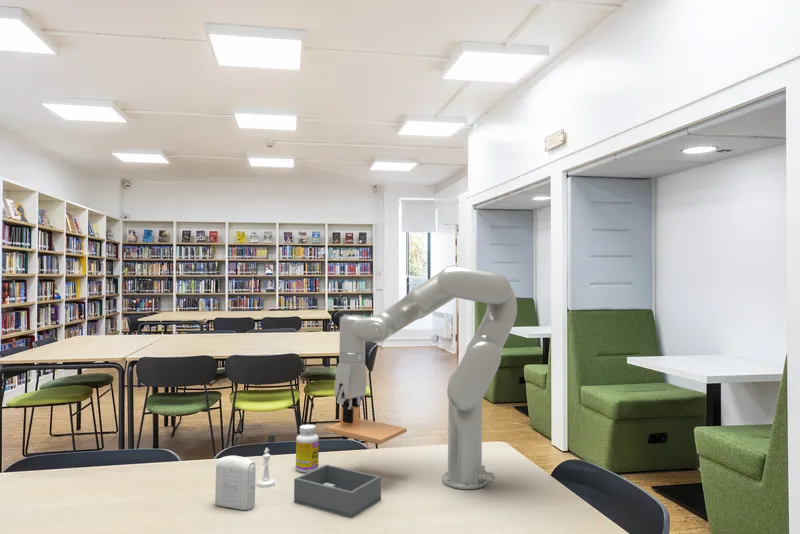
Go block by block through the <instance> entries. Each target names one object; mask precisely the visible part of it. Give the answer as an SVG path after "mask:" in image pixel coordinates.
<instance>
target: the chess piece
mask: <svg viewBox="0 0 800 534" xmlns="http://www.w3.org/2000/svg"><path fill="white" fill-rule="evenodd" d="M269 451H270V449H269V447H265V450H264V451H263V453H264V454H263V455H262V458H263V461H264V462H262V465H263V466H264V467H263V468H264V470H263V476H262V478H261V479H259V480H258V481H257V482H256V483H257V484H256V485H257V486H258V487H259V488H270V486H271V487H273V486H275V485H276V480H275V479H274V478H272V477H270V471H269V469H270V468H269V466H270V465H271V462H270V458H271V454H270V453H269Z"/></svg>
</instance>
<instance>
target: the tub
mask: <svg viewBox="0 0 800 534" xmlns="http://www.w3.org/2000/svg"><path fill="white" fill-rule="evenodd" d="M293 480H294V481H293V486H294V488H293V490H294V491H293V502H294V503H295V504H299V505H303V506H306V507H310V508H313V509H316V510H320V511H324V512H327V513H331V514H334V515H337V516H338V515H339V516H342V517H345V518H349V519H353V518H354V517H355V516H357V515H359V514H361V513H362V512H364V511H365V510H367V509H369V508H370V507H372V506H374V505H375V504H377V503H378V502H380V501H381V500H382V476H379V475H377V474H376V475H375V474H371V473H366V472H363V471H362V472H361V471H358V470H352V469H350V468H349V469H348V468H344V467H340V466H335V465H330V464H327V463H326V464H324V465H322V466H318V468H317V469H315V470H312V471H310V472H308V473H303V474H302V475H299V476H297V477H295V478H293Z"/></svg>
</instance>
